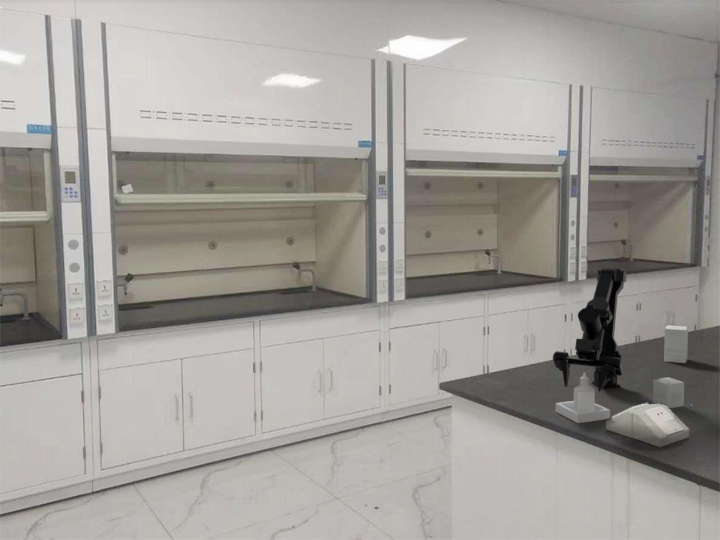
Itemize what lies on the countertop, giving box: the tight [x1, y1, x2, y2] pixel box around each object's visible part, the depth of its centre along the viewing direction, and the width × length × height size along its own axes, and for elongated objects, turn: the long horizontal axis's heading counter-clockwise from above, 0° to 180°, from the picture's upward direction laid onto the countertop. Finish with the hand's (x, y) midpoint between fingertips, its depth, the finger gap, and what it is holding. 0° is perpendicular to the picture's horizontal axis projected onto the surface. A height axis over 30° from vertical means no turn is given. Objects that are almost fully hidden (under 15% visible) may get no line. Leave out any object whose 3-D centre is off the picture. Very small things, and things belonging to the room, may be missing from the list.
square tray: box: [555, 400, 611, 424], centre depth 181 cm, size 10×10×2 cm
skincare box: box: [652, 377, 685, 409], centre depth 188 cm, size 6×6×7 cm
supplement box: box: [663, 324, 689, 364], centre depth 237 cm, size 7×7×13 cm
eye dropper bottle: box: [573, 372, 596, 413], centre depth 181 cm, size 4×6×12 cm
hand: (582, 388), depth 180 cm, fingers open, 9 cm apart
